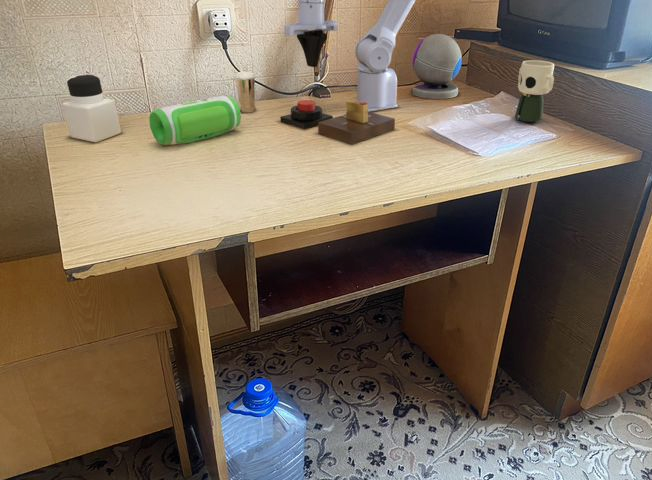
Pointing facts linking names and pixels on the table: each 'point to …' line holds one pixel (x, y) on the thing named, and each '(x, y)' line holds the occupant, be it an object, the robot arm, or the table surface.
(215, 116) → the speaker
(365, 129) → the lock plate
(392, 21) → the robot arm
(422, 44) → the webcam
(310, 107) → the release button
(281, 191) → the table surface
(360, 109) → the tan red block
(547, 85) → the character mug
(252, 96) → the milkshake
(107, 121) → the medicine bottle
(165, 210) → the table surface
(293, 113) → the black button base
